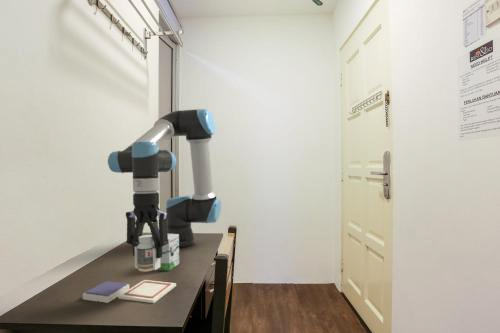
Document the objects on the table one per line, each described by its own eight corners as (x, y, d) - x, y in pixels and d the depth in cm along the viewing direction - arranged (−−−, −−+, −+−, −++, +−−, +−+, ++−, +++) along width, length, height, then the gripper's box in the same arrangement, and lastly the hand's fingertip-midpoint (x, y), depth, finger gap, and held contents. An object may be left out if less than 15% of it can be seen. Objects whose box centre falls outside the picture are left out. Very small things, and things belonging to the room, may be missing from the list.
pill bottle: (160, 269, 88) (159, 236, 88) (140, 273, 85) (140, 239, 85) (153, 264, 93) (153, 233, 93) (135, 268, 89) (134, 236, 89)
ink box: (169, 271, 106) (168, 238, 106) (157, 270, 107) (156, 238, 107) (180, 263, 115) (179, 233, 115) (168, 262, 116) (167, 232, 116)
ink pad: (106, 286, 94) (105, 280, 94) (129, 289, 91) (129, 283, 91) (82, 299, 85) (82, 292, 85) (107, 302, 82) (107, 295, 82)
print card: (144, 282, 97) (144, 279, 97) (176, 285, 93) (176, 282, 93) (118, 298, 85) (118, 295, 85) (153, 303, 82) (153, 299, 82)
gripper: (111, 193, 88) (113, 269, 88) (165, 193, 83) (167, 274, 83) (128, 190, 95) (130, 261, 95) (179, 191, 90) (181, 265, 90)
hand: (147, 267), depth 89 cm, fingers closed on pill bottle, 6 cm apart
